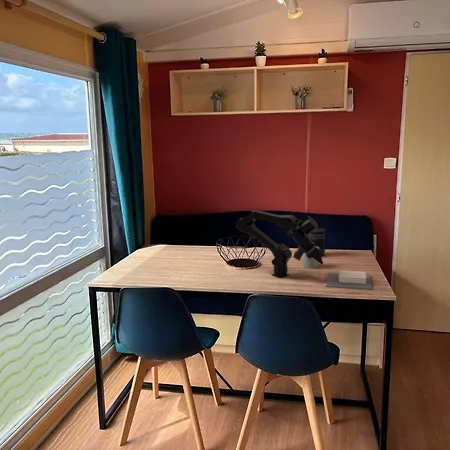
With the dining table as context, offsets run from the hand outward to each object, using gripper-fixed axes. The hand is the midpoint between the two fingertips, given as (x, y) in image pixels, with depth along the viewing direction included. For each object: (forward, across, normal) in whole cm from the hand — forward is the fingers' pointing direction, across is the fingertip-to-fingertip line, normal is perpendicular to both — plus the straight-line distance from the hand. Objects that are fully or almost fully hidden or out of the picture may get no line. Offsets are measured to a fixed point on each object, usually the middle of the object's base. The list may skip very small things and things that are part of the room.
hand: (322, 263), depth 217 cm
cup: (+2, -23, -6) cm, 24 cm away
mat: (+14, +2, +4) cm, 15 cm away
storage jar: (+3, -44, -1) cm, 45 cm away
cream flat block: (+9, +1, +2) cm, 10 cm away
